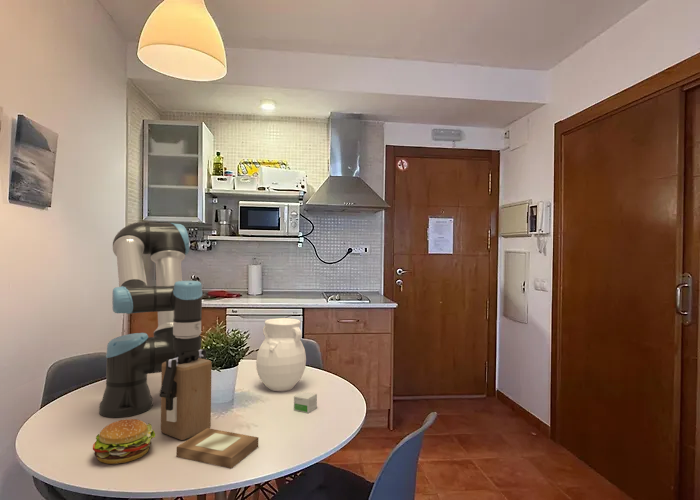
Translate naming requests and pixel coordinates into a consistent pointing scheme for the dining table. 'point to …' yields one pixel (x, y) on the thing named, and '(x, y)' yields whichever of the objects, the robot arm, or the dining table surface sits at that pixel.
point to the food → (123, 441)
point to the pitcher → (281, 354)
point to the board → (217, 447)
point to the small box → (305, 402)
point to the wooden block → (189, 400)
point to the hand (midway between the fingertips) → (186, 413)
